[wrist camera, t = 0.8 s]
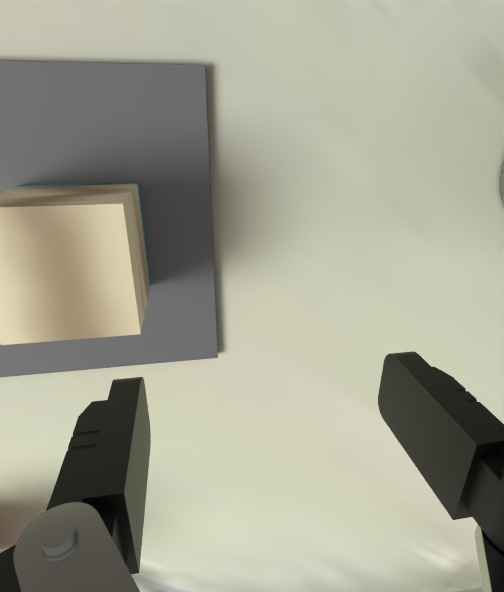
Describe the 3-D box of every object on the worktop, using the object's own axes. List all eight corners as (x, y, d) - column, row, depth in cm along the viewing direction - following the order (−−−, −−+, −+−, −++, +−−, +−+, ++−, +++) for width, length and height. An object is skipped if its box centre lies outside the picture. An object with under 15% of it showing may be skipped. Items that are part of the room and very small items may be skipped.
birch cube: (138, 182, 24) (122, 203, 18) (150, 285, 27) (140, 334, 21) (19, 185, 23) (-42, 208, 17) (44, 291, 26) (0, 345, 20)
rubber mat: (204, 66, 23) (204, 64, 22) (217, 353, 31) (217, 357, 31) (-350, 54, 19) (-365, 53, 18) (-168, 387, 27) (-175, 393, 27)
